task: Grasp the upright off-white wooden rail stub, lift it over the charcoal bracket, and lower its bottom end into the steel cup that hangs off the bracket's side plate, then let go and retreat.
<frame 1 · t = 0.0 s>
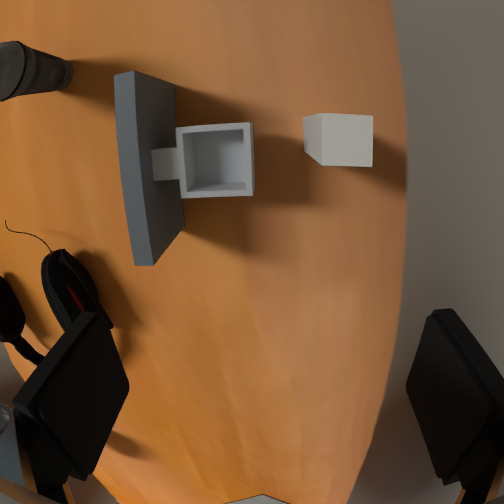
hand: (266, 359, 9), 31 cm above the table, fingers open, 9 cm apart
bracket: (227, 152, 36), on the table
headset: (49, 291, 47), on the table
rail: (320, 134, 35), on the table
beverage cup: (61, 75, 33), on the table
grey flat square slab: (257, 497, 71), on the table
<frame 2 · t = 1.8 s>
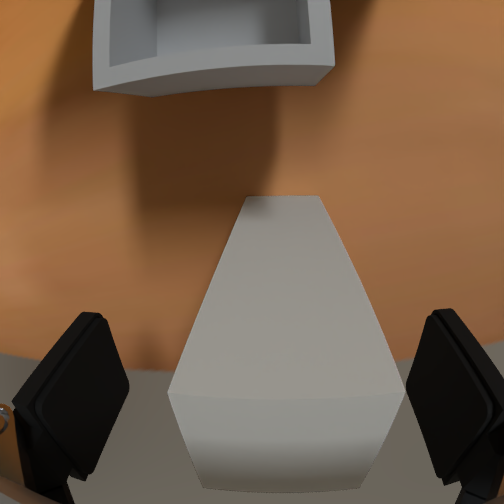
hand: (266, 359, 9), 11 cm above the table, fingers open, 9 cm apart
bracket: (239, 38, 14), on the table
rail: (283, 229, 18), on the table
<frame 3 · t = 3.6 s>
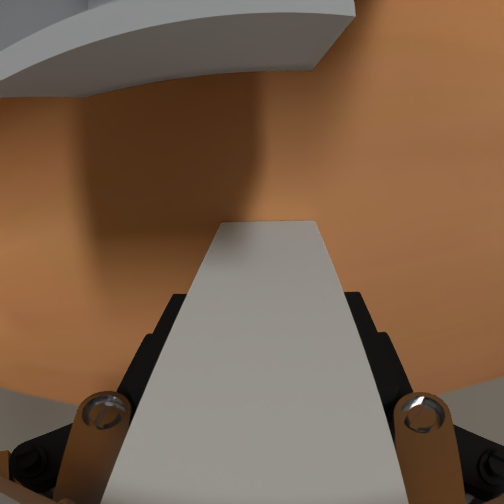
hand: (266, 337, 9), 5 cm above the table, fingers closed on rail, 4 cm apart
bracket: (210, 17, 10), on the table
rail: (268, 264, 14), on the table, touching gripper
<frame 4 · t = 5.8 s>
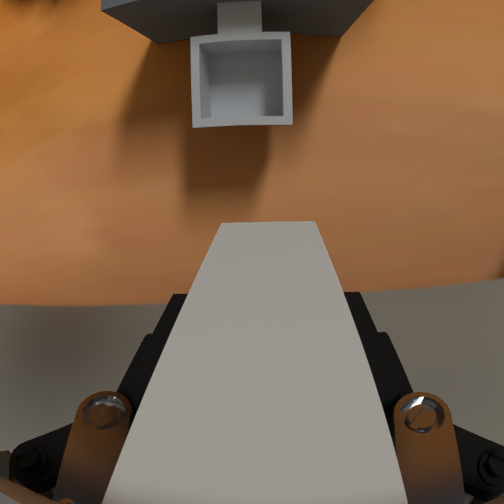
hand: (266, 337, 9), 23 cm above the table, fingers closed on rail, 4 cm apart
bracket: (249, 91, 27), on the table
rail: (269, 264, 14), point 18 cm above the table, touching gripper
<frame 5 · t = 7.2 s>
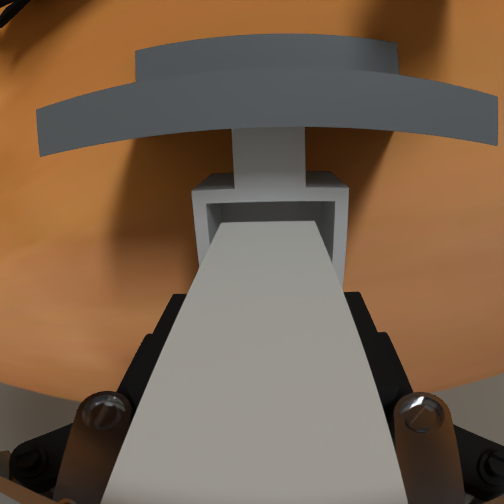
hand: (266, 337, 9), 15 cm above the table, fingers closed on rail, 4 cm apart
bracket: (272, 209, 23), on the table
rail: (268, 264, 14), point 9 cm above the table, touching gripper
when the fingers open (12 cm above the table, at t = 8.5 s): rail drops 1 cm, resting on bracket.
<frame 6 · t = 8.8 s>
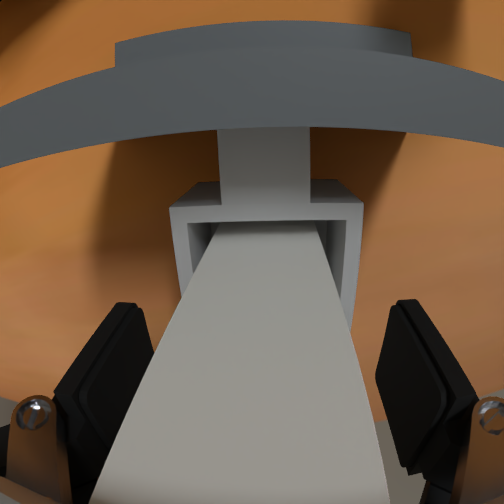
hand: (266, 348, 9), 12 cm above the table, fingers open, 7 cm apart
bracket: (269, 221, 20), on the table
rail: (269, 251, 16), point 5 cm above the table, touching bracket
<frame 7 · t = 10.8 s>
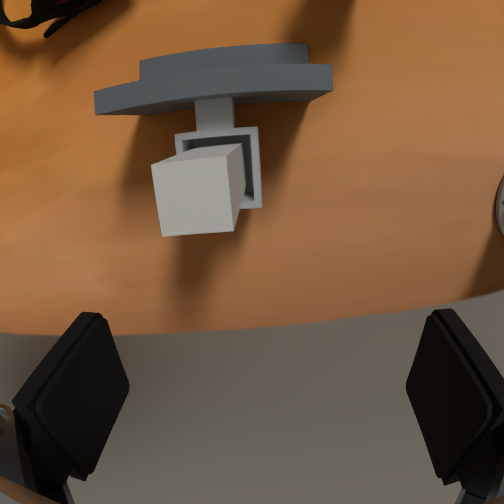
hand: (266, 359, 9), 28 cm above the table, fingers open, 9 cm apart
bracket: (229, 158, 34), on the table
rail: (224, 164, 29), point 5 cm above the table, touching bracket
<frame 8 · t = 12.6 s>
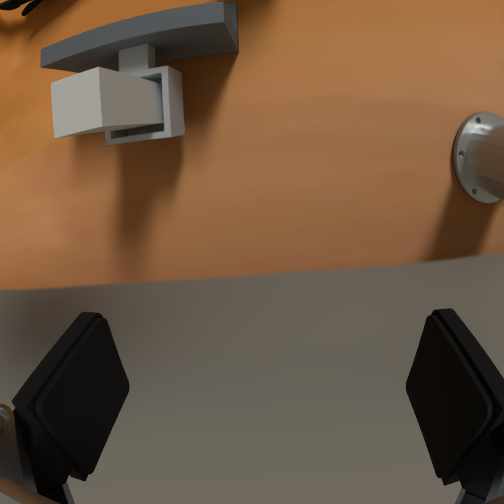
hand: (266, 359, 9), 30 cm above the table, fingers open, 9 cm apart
bracket: (165, 108, 34), on the table
rail: (149, 107, 29), point 5 cm above the table, touching bracket
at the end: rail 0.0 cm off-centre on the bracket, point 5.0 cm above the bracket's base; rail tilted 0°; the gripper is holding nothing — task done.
